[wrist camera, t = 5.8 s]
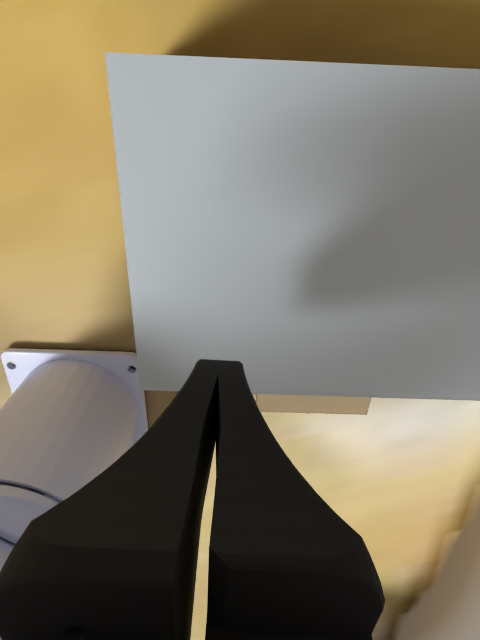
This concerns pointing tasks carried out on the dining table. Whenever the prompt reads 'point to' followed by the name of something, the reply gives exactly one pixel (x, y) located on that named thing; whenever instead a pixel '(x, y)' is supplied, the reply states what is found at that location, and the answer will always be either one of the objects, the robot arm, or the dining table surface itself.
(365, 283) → the grey flat panel
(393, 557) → the dining table surface
